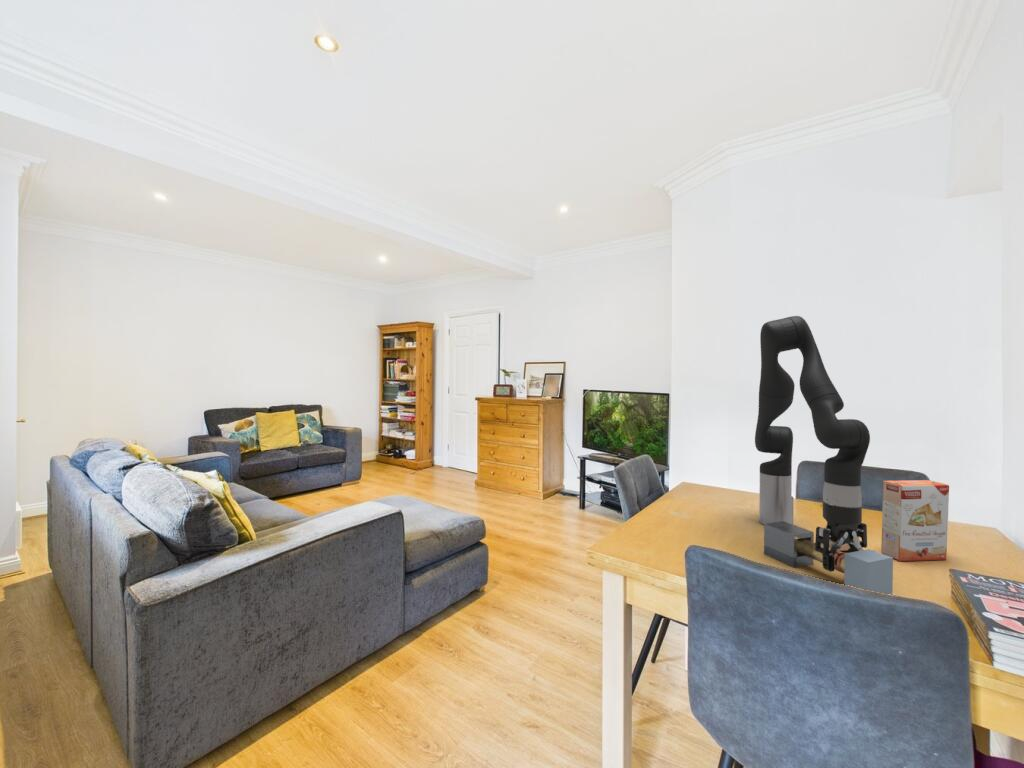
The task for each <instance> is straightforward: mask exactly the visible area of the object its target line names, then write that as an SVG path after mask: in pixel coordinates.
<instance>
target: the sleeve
mask: <svg viewBox="0 0 1024 768" xmlns="http://www.w3.org/2000/svg"><path fill="white" fill-rule="evenodd" d="M801 538H803V539H805V540H808V541H811V542H813V543H815V540H814V539H815V532H814V531H812V530H809V529H808V528H804V527H801V526H799V525H795V524H794V523H793V524H790V523H787V522H784V521H780V522H773V523H766V524H763V554H764V555H765V556H767V557H770V558H772V559H774V560H776V561H779V563H780V562H781V563H782V564H785V565H788V566H790V567H791V568H799V567H804V566H810V565H814V559H812V558H809V557H807V556H804V555H802V554H800V553H797V539H801Z"/></svg>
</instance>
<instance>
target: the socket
mask: <svg viewBox="0 0 1024 768" xmlns="http://www.w3.org/2000/svg"><path fill="white" fill-rule="evenodd" d="M893 575H894V558H893V557H890V556H887V555H885V554H883V553H881V552H878V551H876V550H872V549H870V548H867V549H866V548H865V549H863V550H861V551H856V552H850V553H845V573H844V584H845V585H849V586H853V587H856V588H861V589H864V590H869V591H874V592H879V593H884V594H891V595H893V592H894V590H893V589H894V588H893V584H894V583H893V580H894V576H893Z"/></svg>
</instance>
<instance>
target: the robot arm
mask: <svg viewBox="0 0 1024 768" xmlns="http://www.w3.org/2000/svg"><path fill="white" fill-rule="evenodd" d="M759 336H760V337H759V339H760V359H761V361H760V363H761V364H760V380H759V388H758V411H757V413H758V414H757V420H756V422H757V423H756V426H755V435H754V444H755V448H756V450H757V451H758V452H759V453H760V452H761V453H765V454H778V455H779V456H778V457H776V458H774V459H771V460H769V461H764V462H762V463H760V465H759V506H758V507H759V510H758V511H759V512H758V514H759V516H758V519H759V523H760V524H761V525H764V524H766V523H773V522H780V521H784V522H787V523H790V524H793V525H794V496H792V489H793V488H792V485H793V484H792V483H793V482H792V478H793V477H792V476H793V475H792V471H793V470H792V465H793V464H792V463H793V462H792V461H793V458H792V457H793V444H794V433H793V431H792V428H790V427H789V426H783V425H781V426H780V425H772V423H773V422H774V421H775V420H776V419H778V418H779V417H780V416H781V415H782V414H784V413H785V412H786V411H787V410H789V408H790V407H791V406H792V404H793V402H794V395H795V382H794V380H793V378H792V377H791V375H790V374H789V373H788V372H787V371H786V370H785V368H783V367H782V366H781V364H780V363H779V355H780V353H782V352H787V351H788V352H789V351H791V350H792V351H793V350H796V349H798V350H799V351H800V352H801V355H802V359H803V363H802V368H801V372H800V375H799V376H800V377H799V389H800V392H801V394H802V397H803V398H804V401H805V402H806V404H807V407H808V408H809V410H810V411H811V418H812V419H811V420H812V422H813V423H812V424H813V429H814V434H815V436H816V439H817V440H818V442H819V443H820V444H821V445H823V446H824V447H826V448H828V449H831V450H835V449H836V450H838V451H837V453H836V455H834V456H831V457H828V458H826V460H825V461H824V464H823V465H824V469H823V471H824V473H823V475H824V476H823V477H824V478H823V479H824V481H823V488H822V517H823V519H824V520H825V521H826V526H825V527H821V526H816V529H815V540H814V543H815V551H817V552H820V553H822V554H823V563H822V568H823V569H824V570H826V571H828V572H830V573H831V572H834V571H835V569H834V554H835V552H836V550H837V549H840V547H841V545H844V544H847V545H848V547H849V549H848V553H850V552H856V551H861V550H862V549H863V548H864V549H866V548H867V547H868V527H867V526H868V525H867V524H866V523H863V522H862V521H863V519H862V517H863V516H862V515H863V511H862V510H863V493H862V488H861V487H862V486H861V485H862V484H861V483H862V465H864V461H865V458H866V455H867V452H868V449H869V447H870V443H871V436H870V430H869V428H868V426H867V425H866V424H865V422H863V421H862V420H859V419H854V418H852V419H850V418H848V419H847V418H846V419H845V418H844V419H838V417H837V416H836V414H838V413H840V412H841V411H842V410H843V409H844V407H845V404H844V401H843V399H842V396H841V395H840V393H839V392H838V390H837V388H836V386H835V385H834V383H833V381H832V379H831V378H830V376H829V374H828V372H827V370H826V368H825V367H826V366H825V365H824V362H823V359H822V357H821V354H820V351H819V348H818V345H817V343H816V340H815V338H814V335H813V332H812V331H811V328H810V326H809V324H808V323H807V321H806V319H804V318H803V317H802V316H800V315H793V316H792V315H791V316H788V317H783V318H779V319H774V320H773V319H772V320H769V321H766V322H764V323H763V325H762V326H761V329H760V335H759ZM860 538H861V540H860ZM830 539H831V541H832V542H834V543H832V542H830V541H829V540H830ZM821 543H822V544H823V546H822V548H821ZM829 546H831V549H830V550H829Z"/></svg>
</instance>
